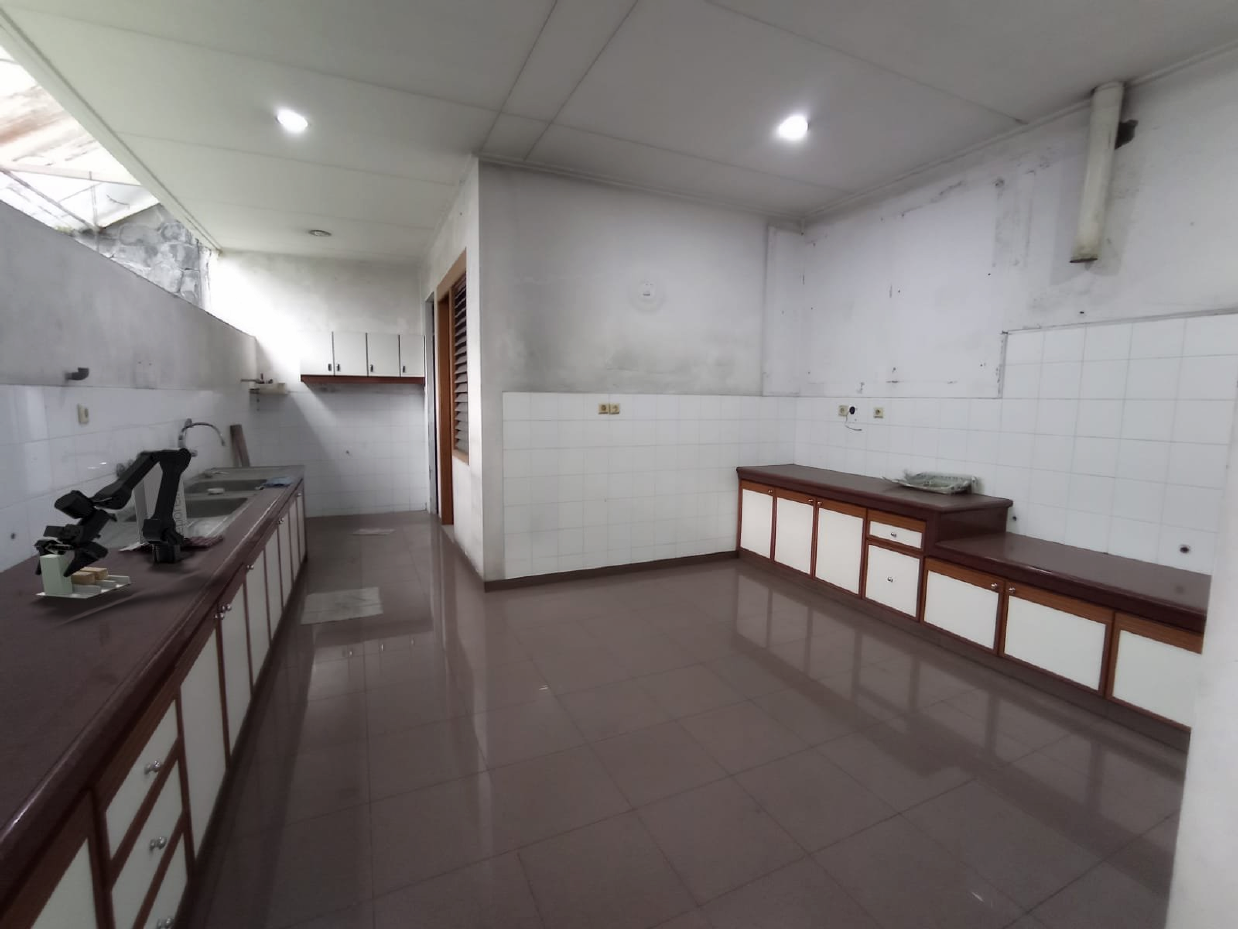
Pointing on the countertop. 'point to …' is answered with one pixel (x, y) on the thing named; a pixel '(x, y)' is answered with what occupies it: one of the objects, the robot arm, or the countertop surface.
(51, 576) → the sage green block
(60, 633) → the countertop surface
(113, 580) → the rack
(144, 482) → the white cardboard box
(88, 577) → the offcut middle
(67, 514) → the robot arm
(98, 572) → the offcut front
